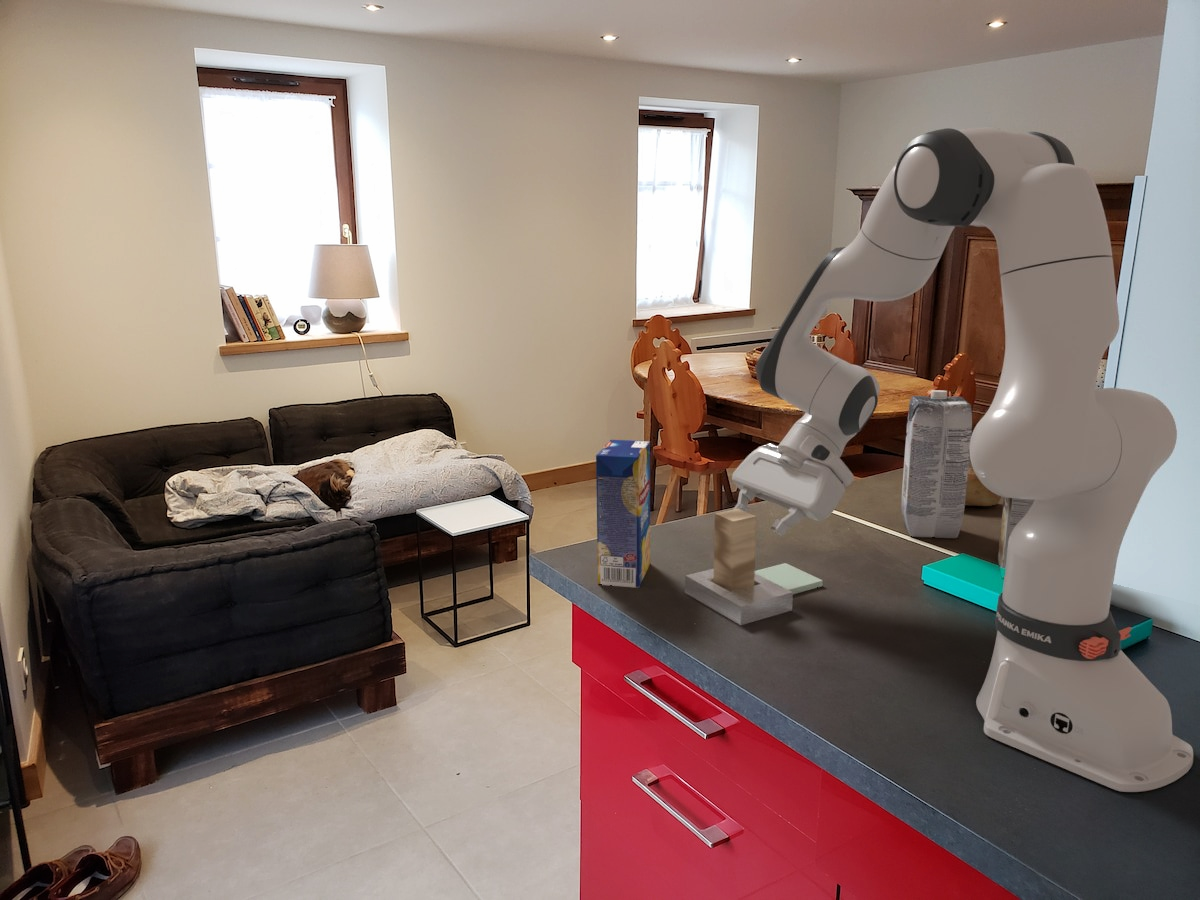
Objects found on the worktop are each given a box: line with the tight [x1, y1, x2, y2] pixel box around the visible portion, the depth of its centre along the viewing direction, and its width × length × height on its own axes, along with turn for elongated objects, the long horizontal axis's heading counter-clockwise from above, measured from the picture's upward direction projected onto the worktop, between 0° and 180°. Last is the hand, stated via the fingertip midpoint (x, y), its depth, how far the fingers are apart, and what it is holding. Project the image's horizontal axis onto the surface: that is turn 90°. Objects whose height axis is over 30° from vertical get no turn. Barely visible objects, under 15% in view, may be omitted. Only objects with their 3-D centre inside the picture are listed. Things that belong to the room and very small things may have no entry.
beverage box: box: [595, 439, 651, 588], centre depth 148 cm, size 7×11×22 cm, turn 167°
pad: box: [755, 562, 824, 595], centre depth 146 cm, size 9×9×1 cm
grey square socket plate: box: [684, 568, 794, 626], centre depth 139 cm, size 14×10×3 cm
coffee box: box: [997, 497, 1035, 568], centre depth 148 cm, size 9×6×16 cm
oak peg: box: [713, 508, 757, 592], centre depth 139 cm, size 4×4×14 cm
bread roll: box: [965, 467, 1002, 507], centre depth 184 cm, size 10×15×8 cm, turn 79°
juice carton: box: [900, 389, 973, 539], centre depth 166 cm, size 9×10×27 cm
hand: (756, 523), depth 140 cm, fingers open, 8 cm apart
